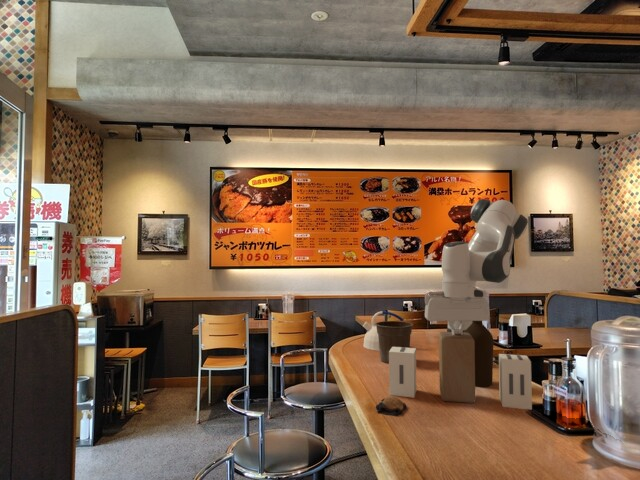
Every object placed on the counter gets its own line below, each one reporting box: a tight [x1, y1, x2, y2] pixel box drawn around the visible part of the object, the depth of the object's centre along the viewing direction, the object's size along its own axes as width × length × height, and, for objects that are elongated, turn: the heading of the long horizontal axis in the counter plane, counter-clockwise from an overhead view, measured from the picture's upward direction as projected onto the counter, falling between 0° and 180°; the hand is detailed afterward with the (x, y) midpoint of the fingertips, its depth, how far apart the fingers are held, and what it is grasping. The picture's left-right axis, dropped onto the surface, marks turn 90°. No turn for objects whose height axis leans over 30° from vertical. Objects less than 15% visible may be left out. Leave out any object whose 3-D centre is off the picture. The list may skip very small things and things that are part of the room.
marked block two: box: [498, 353, 533, 411], centre depth 126 cm, size 8×8×14 cm
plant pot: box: [375, 320, 414, 364], centre depth 179 cm, size 16×16×16 cm
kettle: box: [362, 310, 404, 352], centre depth 208 cm, size 20×21×18 cm
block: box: [438, 331, 476, 404], centre depth 132 cm, size 10×10×20 cm
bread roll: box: [375, 396, 407, 417], centre depth 122 cm, size 11×8×4 cm
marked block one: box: [388, 347, 417, 398], centre depth 137 cm, size 8×8×14 cm
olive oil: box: [464, 321, 495, 388], centre depth 148 cm, size 11×11×25 cm
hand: (457, 334), depth 132 cm, fingers closed, pressing on block
